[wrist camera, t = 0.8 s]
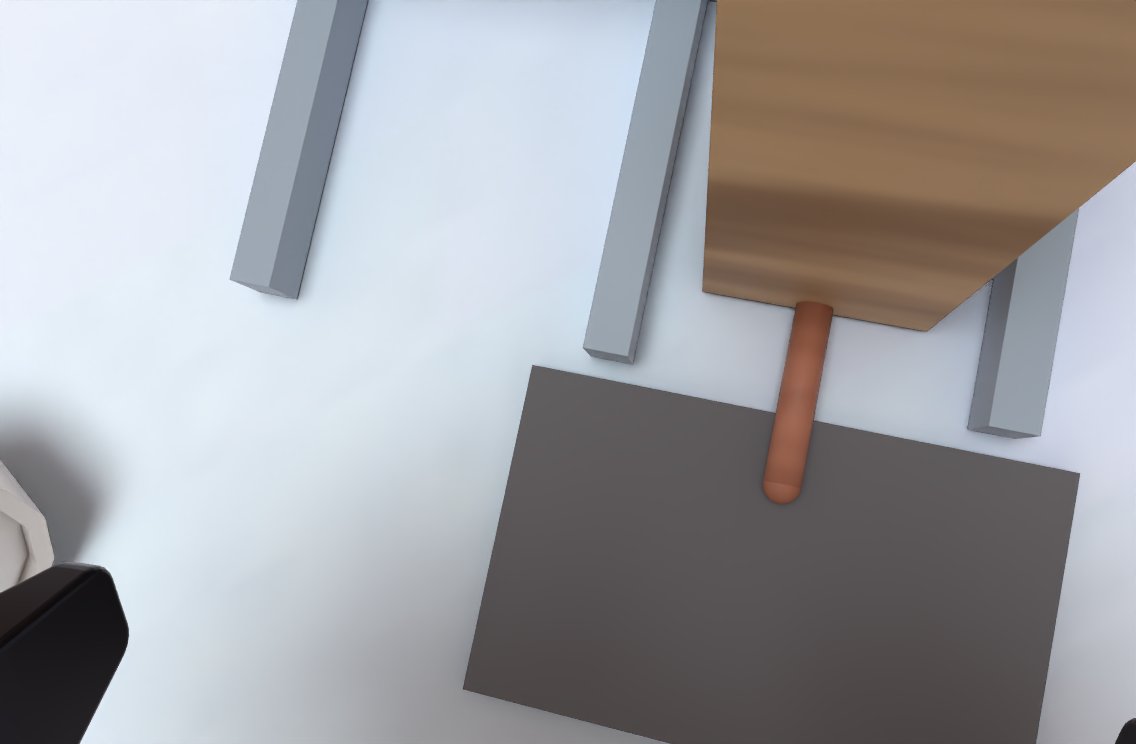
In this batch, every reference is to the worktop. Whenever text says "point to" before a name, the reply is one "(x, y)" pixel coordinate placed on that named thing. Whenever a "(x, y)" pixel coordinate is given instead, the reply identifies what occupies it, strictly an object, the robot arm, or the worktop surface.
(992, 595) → the mat
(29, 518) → the spotlight
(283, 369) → the worktop surface
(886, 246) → the oak block
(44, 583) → the robot arm
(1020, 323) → the lane rack
